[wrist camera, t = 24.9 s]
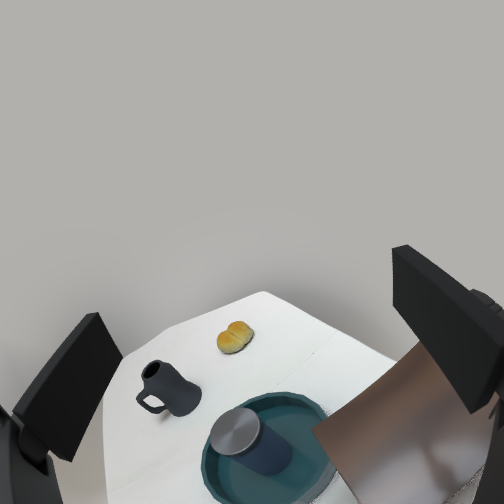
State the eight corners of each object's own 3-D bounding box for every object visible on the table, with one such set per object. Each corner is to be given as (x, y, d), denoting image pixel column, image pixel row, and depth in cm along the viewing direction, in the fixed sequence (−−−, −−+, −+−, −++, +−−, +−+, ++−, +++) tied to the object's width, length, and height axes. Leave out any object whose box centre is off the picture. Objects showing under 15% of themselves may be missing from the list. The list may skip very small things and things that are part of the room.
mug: (191, 379, 59) (160, 348, 55) (208, 395, 51) (174, 363, 47) (156, 411, 53) (122, 382, 49) (169, 432, 46) (131, 403, 42)
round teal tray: (367, 469, 24) (361, 463, 22) (233, 533, 22) (216, 530, 20) (303, 382, 43) (294, 370, 42) (206, 438, 41) (192, 429, 40)
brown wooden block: (485, 464, 14) (529, 405, 8) (403, 533, 13) (388, 542, 7) (430, 415, 25) (424, 335, 19) (357, 473, 24) (310, 428, 18)
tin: (301, 462, 29) (267, 437, 26) (257, 484, 29) (215, 463, 25) (283, 429, 36) (249, 398, 32) (244, 450, 35) (205, 422, 32)
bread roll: (216, 346, 65) (207, 336, 64) (243, 323, 68) (235, 312, 67) (230, 361, 58) (220, 350, 57) (259, 335, 61) (250, 323, 60)
